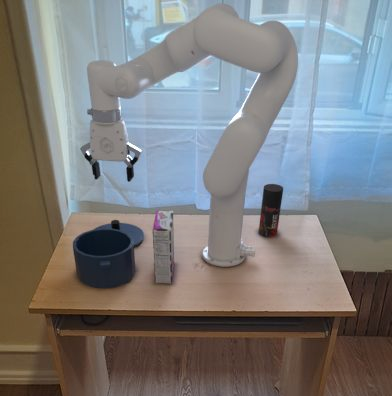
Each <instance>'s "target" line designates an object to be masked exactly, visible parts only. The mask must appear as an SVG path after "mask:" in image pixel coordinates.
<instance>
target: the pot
mask: <svg viewBox="0 0 392 396" xmlns="http://www.w3.org/2000/svg"><path fill="white" fill-rule="evenodd" d="M97 227H98V229H95V228H94V229H95V230H93V229H91V230H87V231H85V232H82V233H80V234H78V235H77V236H76V237H75V238H74V239H73V241H72V251H73V257H74V264H75V265H74V266H75V269H76V270H75V271H76V276H77V279H78V281H80V282H81V283H82V284H83V285H85V286H87V287H90V288H94V289H113V288H117V287H118V288H119V287H121V286H123V285H126V284H127V283H129V282H130V281H131V280H132V279H134V277H135V275H136V260H135V259H136V258H135V257H136V256H135V246H134V242H133V238H132V237H131V236H130V235H129V234H128V233H126V232H124V231H121V230H117V229H107V227H106V226H104V227H99V226H97Z"/></svg>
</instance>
